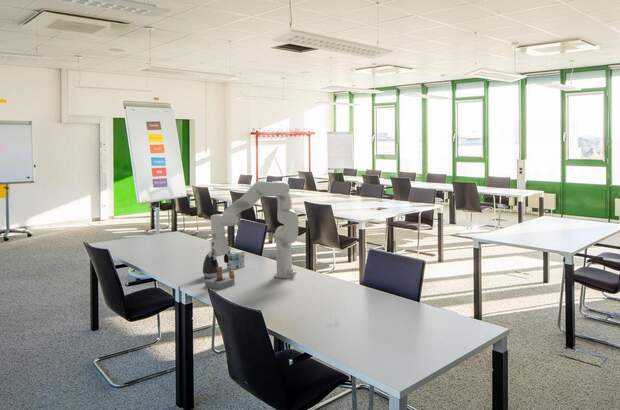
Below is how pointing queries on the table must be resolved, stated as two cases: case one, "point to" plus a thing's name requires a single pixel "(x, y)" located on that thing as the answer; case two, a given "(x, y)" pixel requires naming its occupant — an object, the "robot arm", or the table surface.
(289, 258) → the robot arm
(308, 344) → the table surface
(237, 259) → the light bulb box
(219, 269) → the long pin
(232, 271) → the short pin
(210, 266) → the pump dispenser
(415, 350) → the table surface
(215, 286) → the block
